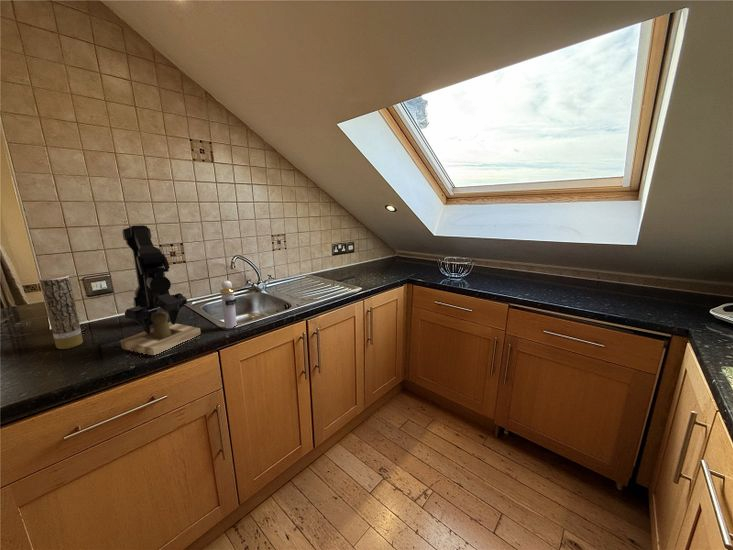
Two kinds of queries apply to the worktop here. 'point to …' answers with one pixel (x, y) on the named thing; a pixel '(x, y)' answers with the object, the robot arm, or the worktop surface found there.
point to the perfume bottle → (228, 305)
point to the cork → (160, 325)
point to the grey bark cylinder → (61, 310)
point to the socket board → (154, 346)
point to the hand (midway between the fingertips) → (161, 328)
